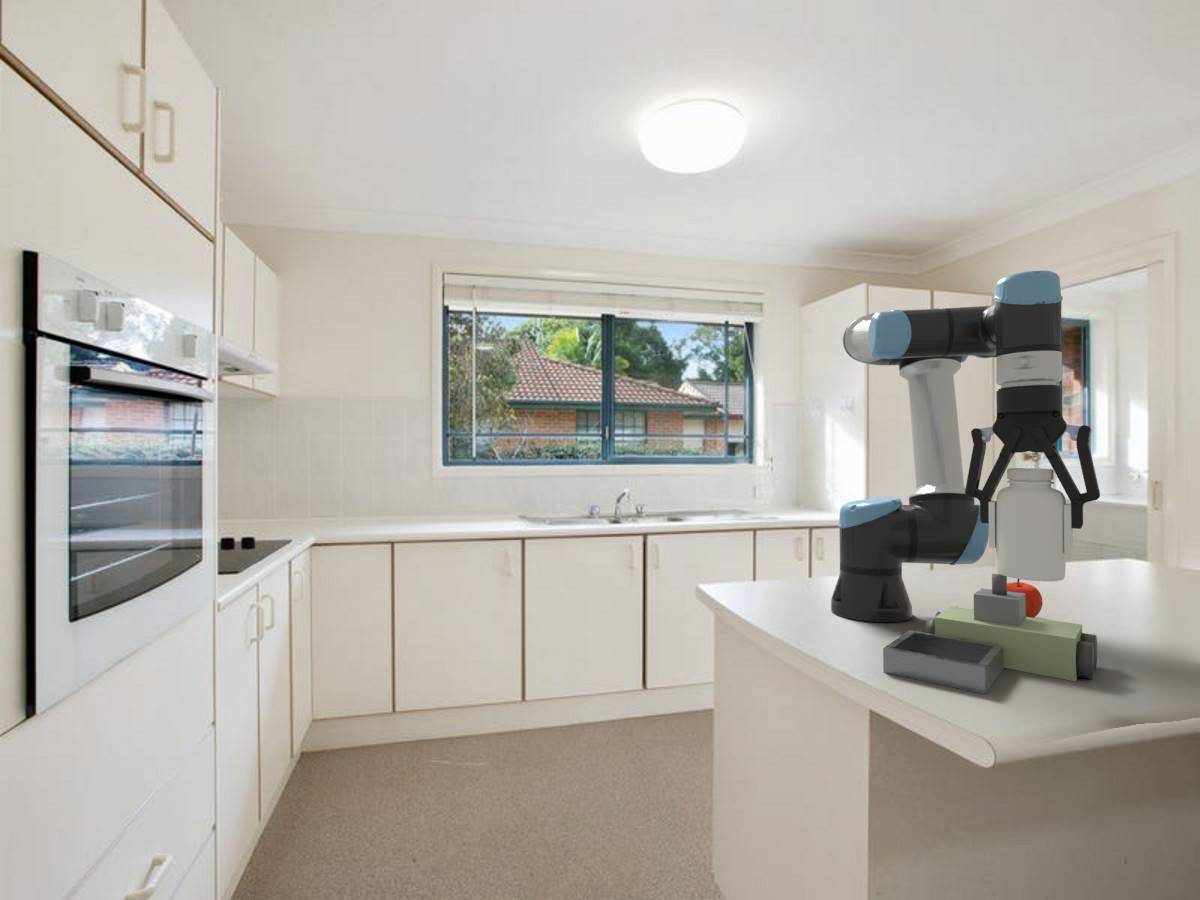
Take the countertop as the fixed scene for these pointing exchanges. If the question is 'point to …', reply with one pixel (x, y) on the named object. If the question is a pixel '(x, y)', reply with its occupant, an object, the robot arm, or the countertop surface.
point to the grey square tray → (944, 660)
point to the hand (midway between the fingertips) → (1029, 549)
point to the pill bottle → (1030, 527)
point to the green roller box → (1020, 634)
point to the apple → (1028, 597)
